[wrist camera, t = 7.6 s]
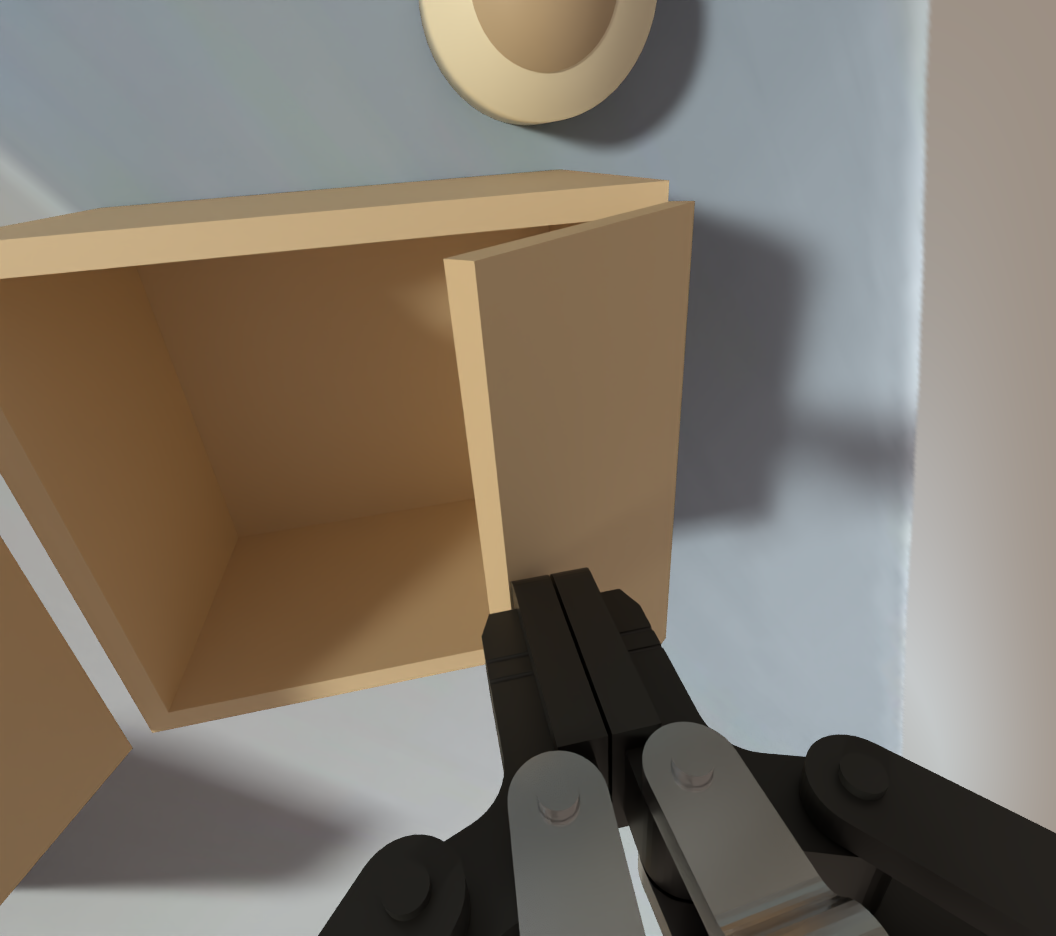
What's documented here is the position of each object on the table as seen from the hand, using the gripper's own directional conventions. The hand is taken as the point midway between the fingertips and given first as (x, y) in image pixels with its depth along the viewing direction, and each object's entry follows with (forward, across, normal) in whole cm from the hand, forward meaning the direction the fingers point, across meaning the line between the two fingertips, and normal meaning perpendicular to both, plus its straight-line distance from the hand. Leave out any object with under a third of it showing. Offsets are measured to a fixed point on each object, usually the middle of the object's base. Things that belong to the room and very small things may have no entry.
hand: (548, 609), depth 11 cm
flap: (+3, -2, 0) cm, 3 cm away
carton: (+16, +4, 0) cm, 16 cm away
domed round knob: (+16, -4, -12) cm, 20 cm away
